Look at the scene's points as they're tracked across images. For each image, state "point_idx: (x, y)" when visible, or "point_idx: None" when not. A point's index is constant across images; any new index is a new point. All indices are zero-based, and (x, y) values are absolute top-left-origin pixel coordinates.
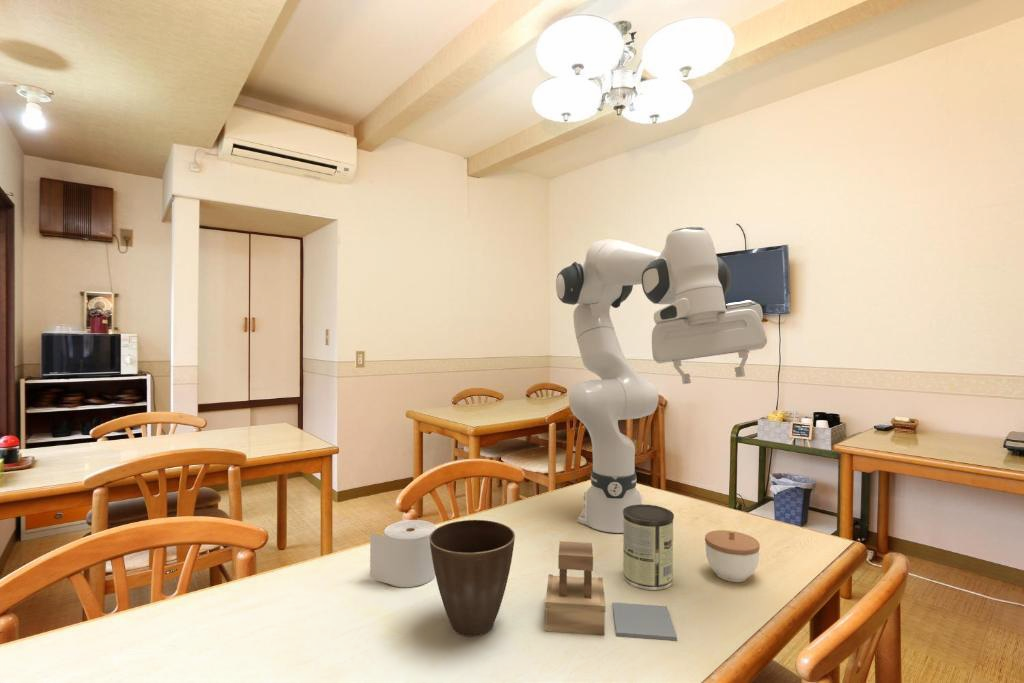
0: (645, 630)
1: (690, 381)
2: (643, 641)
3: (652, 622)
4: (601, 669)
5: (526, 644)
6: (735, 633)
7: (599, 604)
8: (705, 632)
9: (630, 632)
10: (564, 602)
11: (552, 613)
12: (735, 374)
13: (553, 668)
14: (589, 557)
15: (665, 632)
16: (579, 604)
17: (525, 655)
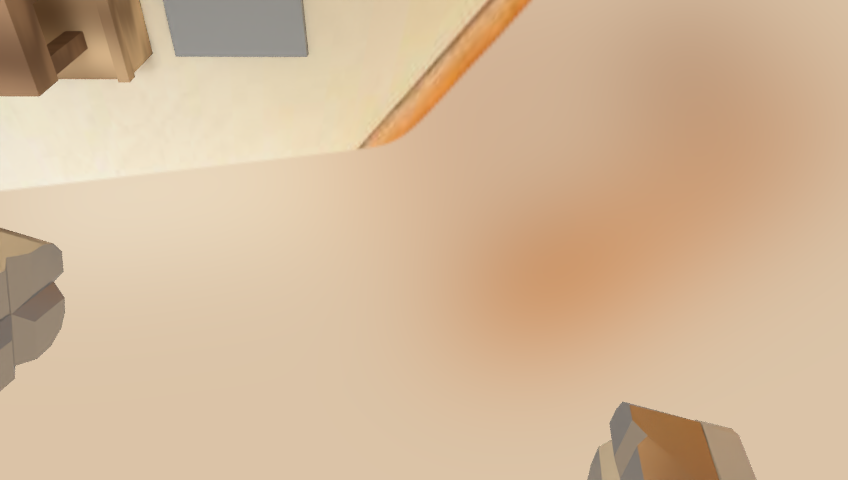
0: (238, 39)
1: (52, 340)
2: (237, 65)
3: (253, 2)
4: (167, 159)
5: (6, 105)
6: (445, 6)
7: (114, 73)
8: (376, 11)
9: (205, 53)
10: None
11: None
12: (629, 419)
13: (85, 166)
14: (30, 95)
15: (282, 42)
16: (68, 78)
17: (21, 138)
